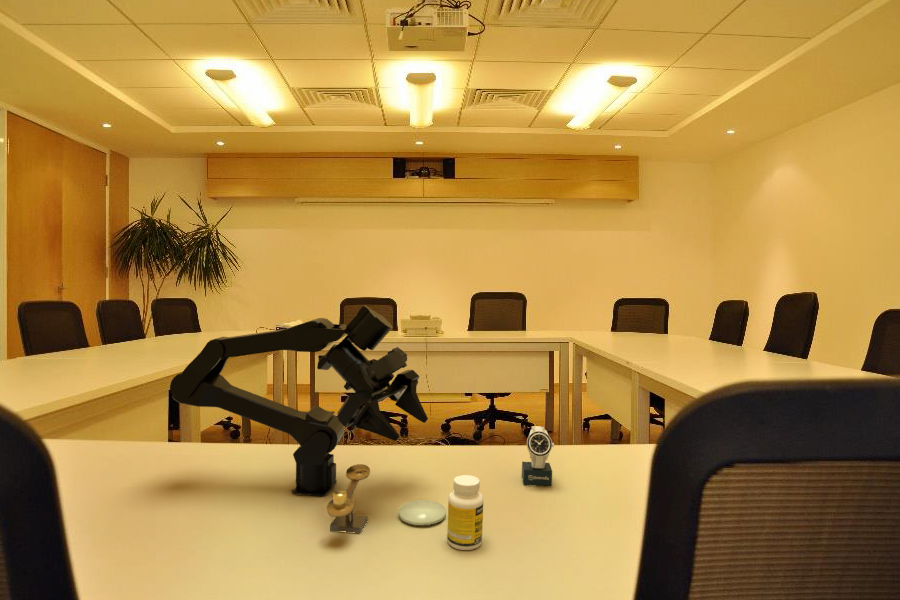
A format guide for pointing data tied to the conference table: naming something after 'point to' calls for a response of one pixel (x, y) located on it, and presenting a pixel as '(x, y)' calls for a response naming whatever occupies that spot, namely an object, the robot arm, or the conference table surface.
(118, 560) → the conference table surface
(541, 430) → the watch
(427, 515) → the dish
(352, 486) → the balance
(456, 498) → the supplement bottle
